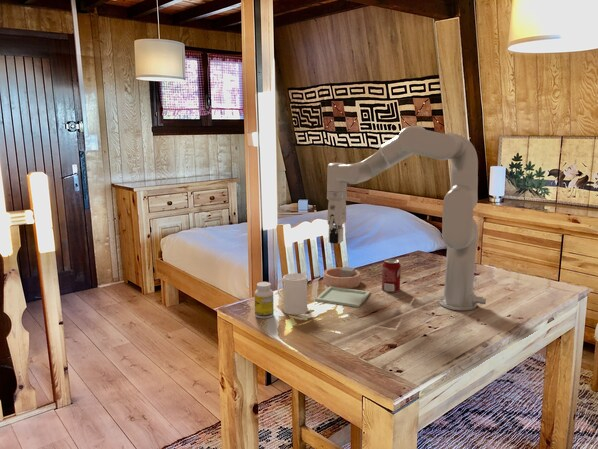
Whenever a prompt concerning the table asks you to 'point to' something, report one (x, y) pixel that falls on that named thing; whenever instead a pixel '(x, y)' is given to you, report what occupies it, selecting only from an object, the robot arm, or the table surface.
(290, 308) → the mug
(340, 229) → the beige block
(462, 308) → the robot arm
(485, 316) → the table surface
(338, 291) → the parts tray
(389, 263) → the soda can
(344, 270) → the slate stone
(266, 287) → the pill bottle
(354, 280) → the bowl
